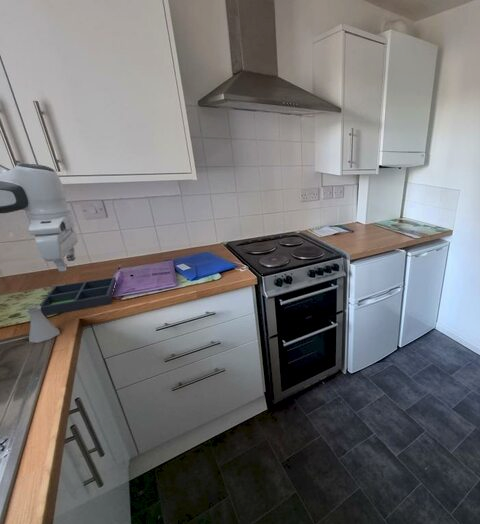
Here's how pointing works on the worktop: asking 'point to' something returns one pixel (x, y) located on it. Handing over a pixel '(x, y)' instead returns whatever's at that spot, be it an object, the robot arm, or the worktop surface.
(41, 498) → the worktop surface
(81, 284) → the grid
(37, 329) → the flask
